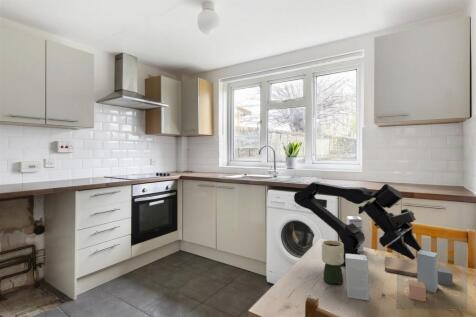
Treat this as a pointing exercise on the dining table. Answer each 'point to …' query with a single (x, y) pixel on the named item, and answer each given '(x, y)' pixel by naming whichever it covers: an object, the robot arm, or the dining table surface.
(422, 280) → the slate block
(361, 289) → the skincare box
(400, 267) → the walnut board
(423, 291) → the terracotta block
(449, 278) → the charcoal block
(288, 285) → the dining table surface
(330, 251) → the character mug
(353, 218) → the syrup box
